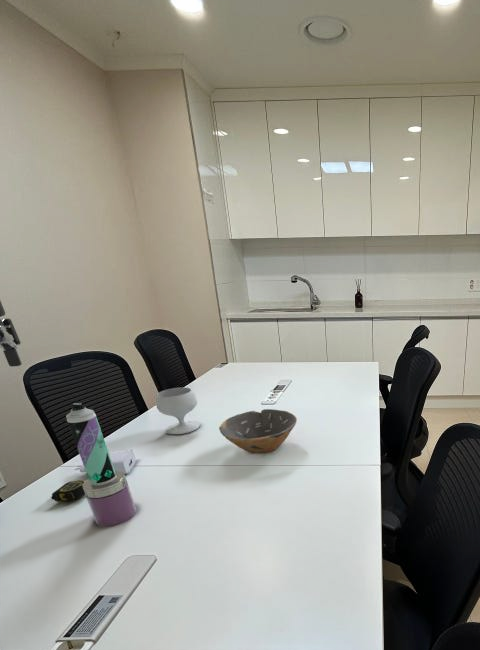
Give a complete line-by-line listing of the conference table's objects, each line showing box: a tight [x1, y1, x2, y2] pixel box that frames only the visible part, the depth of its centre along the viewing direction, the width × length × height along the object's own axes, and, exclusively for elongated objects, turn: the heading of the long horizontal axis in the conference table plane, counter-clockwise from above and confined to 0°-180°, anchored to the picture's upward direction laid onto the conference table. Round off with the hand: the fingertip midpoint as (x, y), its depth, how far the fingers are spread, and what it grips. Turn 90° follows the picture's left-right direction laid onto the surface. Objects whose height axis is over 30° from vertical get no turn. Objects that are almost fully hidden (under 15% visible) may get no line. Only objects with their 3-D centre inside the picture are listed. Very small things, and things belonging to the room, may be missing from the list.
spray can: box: [65, 402, 117, 486], centre depth 91 cm, size 6×6×20 cm
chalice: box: [155, 387, 201, 435], centre depth 148 cm, size 14×14×15 cm
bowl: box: [218, 408, 298, 455], centre depth 131 cm, size 25×25×10 cm
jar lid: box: [82, 471, 128, 498], centre depth 96 cm, size 9×9×2 cm
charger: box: [74, 449, 137, 475], centre depth 120 cm, size 5×9×15 cm
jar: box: [84, 482, 137, 527], centre depth 97 cm, size 9×9×10 cm
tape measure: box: [50, 479, 85, 502], centre depth 107 cm, size 7×7×4 cm
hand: (5, 370), depth 86 cm, fingers open, 8 cm apart
